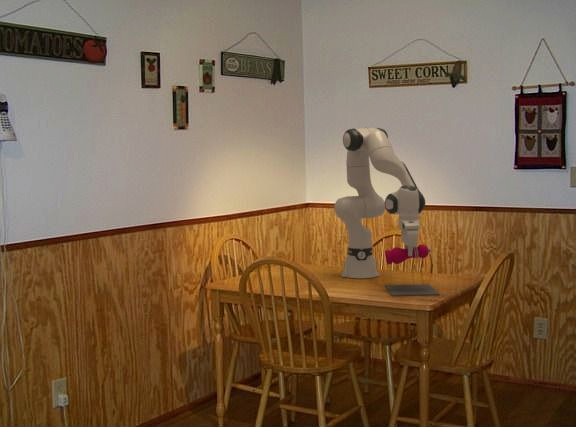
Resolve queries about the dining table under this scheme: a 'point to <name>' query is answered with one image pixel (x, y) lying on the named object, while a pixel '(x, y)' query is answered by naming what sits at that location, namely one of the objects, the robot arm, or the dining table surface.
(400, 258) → the pepper mill
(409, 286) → the mat
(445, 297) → the dining table surface
